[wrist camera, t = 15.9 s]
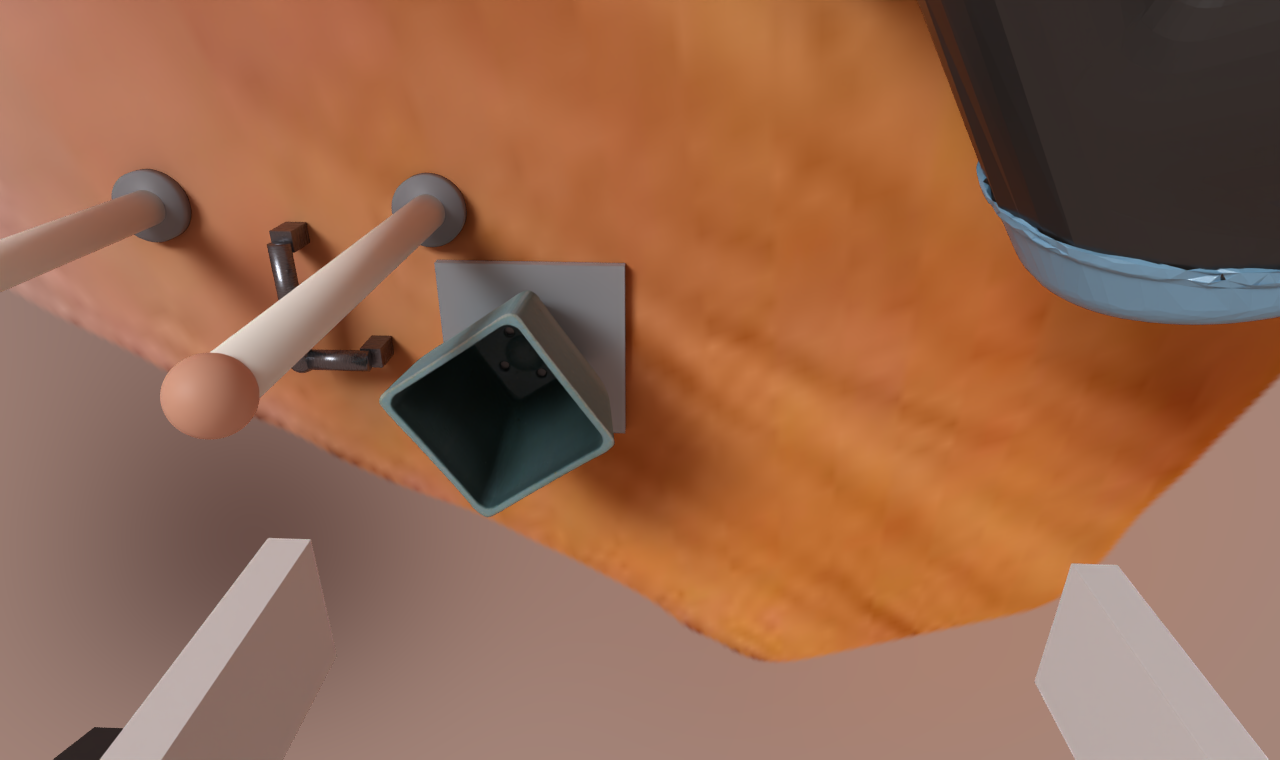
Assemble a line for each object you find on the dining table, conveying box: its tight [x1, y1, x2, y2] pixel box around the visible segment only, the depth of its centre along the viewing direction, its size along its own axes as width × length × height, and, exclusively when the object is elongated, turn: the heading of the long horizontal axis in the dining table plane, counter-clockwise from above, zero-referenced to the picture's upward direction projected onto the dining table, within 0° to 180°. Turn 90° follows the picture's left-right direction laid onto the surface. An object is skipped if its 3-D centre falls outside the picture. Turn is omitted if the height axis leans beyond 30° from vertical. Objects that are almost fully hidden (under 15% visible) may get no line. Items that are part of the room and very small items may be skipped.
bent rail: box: [267, 222, 394, 373], centre depth 45 cm, size 8×5×3 cm, turn 0°
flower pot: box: [379, 290, 614, 517], centre depth 43 cm, size 9×9×9 cm
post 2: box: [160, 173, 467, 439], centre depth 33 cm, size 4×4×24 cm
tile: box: [434, 260, 626, 433], centre depth 47 cm, size 11×11×1 cm
